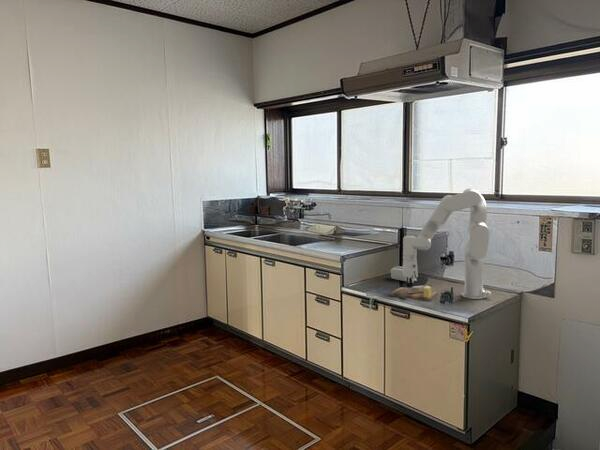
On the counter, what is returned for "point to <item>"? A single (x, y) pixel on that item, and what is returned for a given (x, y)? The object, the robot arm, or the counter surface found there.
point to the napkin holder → (398, 273)
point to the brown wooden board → (413, 294)
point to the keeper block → (426, 291)
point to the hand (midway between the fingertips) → (409, 288)
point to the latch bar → (415, 289)
